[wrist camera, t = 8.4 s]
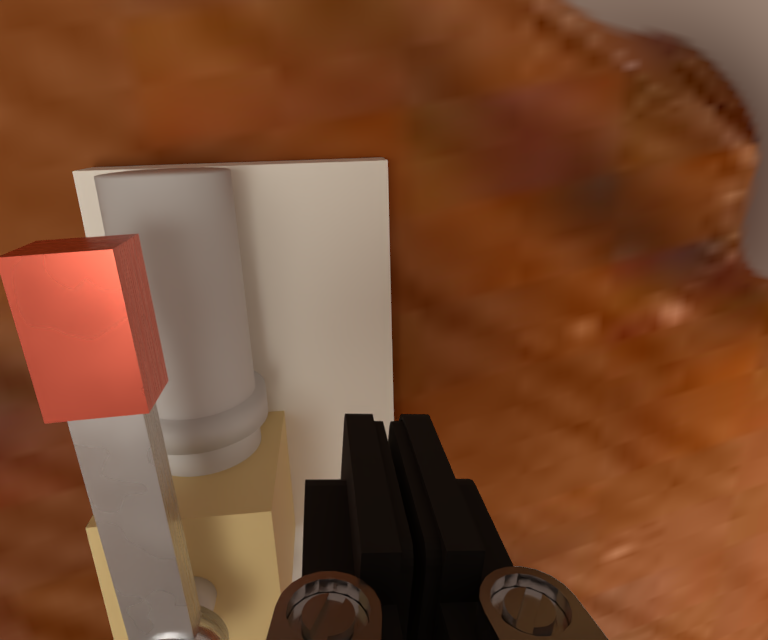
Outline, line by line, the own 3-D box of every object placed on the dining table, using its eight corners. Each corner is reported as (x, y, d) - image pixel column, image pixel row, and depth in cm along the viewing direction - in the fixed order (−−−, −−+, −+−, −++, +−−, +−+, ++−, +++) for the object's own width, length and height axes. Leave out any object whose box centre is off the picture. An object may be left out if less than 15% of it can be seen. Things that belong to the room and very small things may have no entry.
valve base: (395, 642, 33) (426, 859, 24) (190, 665, 32) (132, 903, 22) (382, 157, 24) (424, 181, 14) (92, 167, 23) (-80, 200, 13)
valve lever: (235, 663, 19) (227, 717, 17) (143, 676, 18) (125, 732, 17) (151, 232, 14) (127, 248, 12) (23, 241, 13) (-20, 258, 12)
